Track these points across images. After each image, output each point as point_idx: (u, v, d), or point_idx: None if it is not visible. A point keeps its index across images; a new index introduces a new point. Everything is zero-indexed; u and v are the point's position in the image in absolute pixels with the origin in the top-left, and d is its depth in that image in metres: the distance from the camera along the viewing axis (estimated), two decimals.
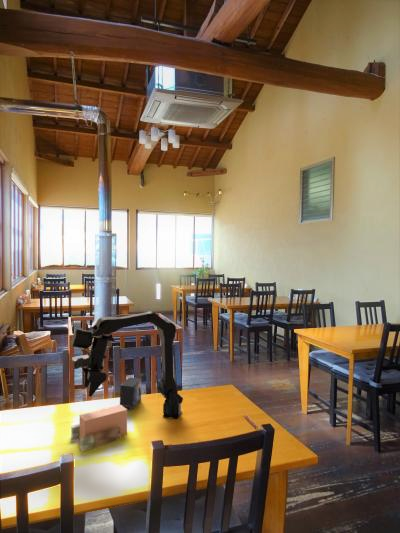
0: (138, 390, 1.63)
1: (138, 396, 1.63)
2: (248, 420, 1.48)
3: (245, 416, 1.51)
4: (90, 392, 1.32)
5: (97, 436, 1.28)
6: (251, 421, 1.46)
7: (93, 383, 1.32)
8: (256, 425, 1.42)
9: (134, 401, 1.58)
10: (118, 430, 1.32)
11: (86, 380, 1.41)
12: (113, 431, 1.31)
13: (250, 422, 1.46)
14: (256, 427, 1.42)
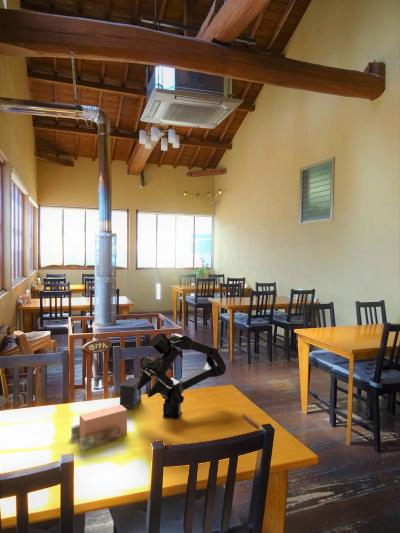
0: (138, 390, 1.63)
1: (138, 396, 1.63)
2: (248, 420, 1.48)
3: (244, 416, 1.50)
4: (151, 393, 1.40)
5: (97, 436, 1.28)
6: (251, 421, 1.46)
7: (157, 386, 1.41)
8: (257, 425, 1.43)
9: (134, 401, 1.58)
10: (118, 430, 1.32)
11: (141, 383, 1.49)
12: (113, 431, 1.31)
13: (250, 422, 1.46)
14: (258, 427, 1.42)
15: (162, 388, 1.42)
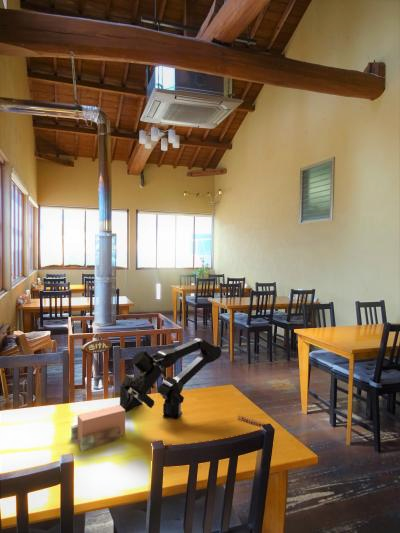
0: None
1: None
2: (247, 421, 1.47)
3: (241, 418, 1.49)
4: (125, 409, 1.39)
5: (97, 436, 1.28)
6: (252, 421, 1.46)
7: (132, 402, 1.40)
8: (262, 423, 1.44)
9: None
10: (118, 430, 1.32)
11: None
12: (113, 431, 1.31)
13: (251, 422, 1.46)
14: None
15: (137, 404, 1.41)
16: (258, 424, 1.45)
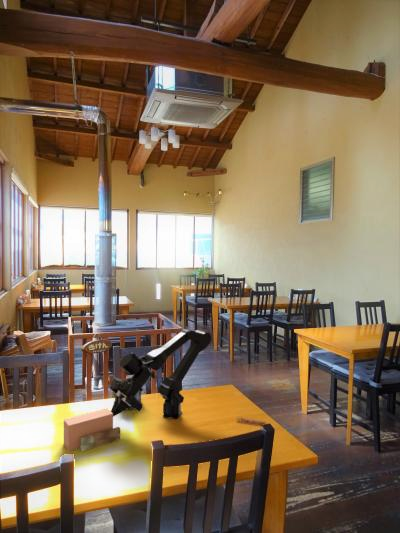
0: None
1: (138, 396, 1.63)
2: (247, 422, 1.47)
3: (240, 419, 1.48)
4: (113, 413, 1.36)
5: (97, 436, 1.28)
6: (253, 421, 1.46)
7: (120, 405, 1.37)
8: (263, 422, 1.45)
9: None
10: (118, 430, 1.32)
11: None
12: (113, 431, 1.31)
13: (252, 422, 1.46)
14: (264, 423, 1.45)
15: (125, 408, 1.38)
16: (259, 423, 1.45)
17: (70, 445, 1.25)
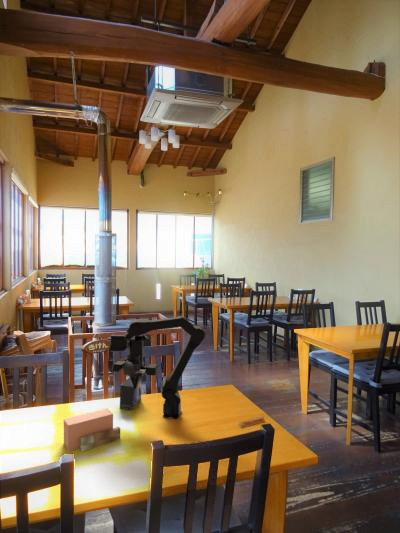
0: (138, 390, 1.63)
1: (138, 396, 1.63)
2: (249, 423, 1.46)
3: (243, 423, 1.45)
4: (137, 385, 1.49)
5: (97, 436, 1.28)
6: (253, 420, 1.47)
7: None
8: (261, 417, 1.49)
9: (134, 401, 1.58)
10: (118, 430, 1.32)
11: None
12: (113, 431, 1.31)
13: (253, 422, 1.47)
14: (262, 419, 1.49)
15: None
16: (259, 420, 1.48)
17: (69, 445, 1.25)
